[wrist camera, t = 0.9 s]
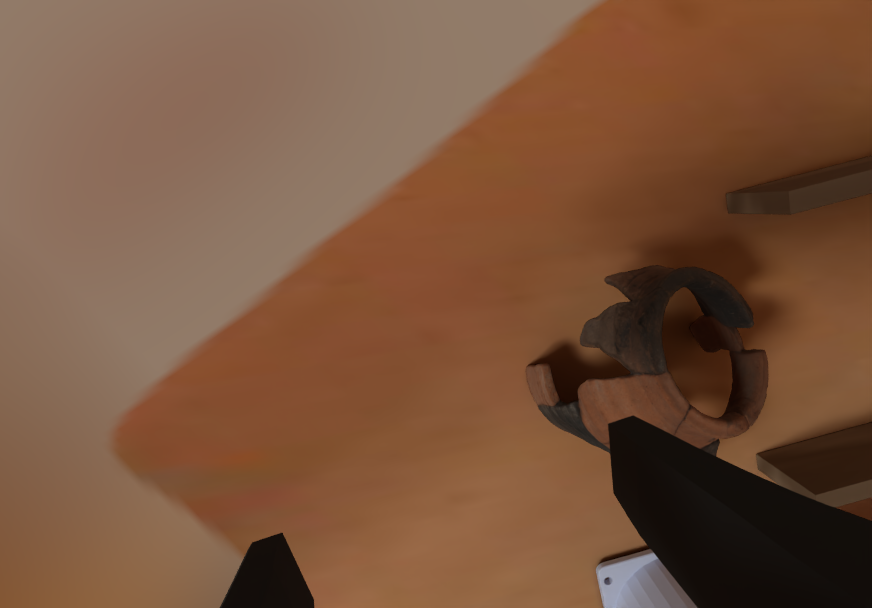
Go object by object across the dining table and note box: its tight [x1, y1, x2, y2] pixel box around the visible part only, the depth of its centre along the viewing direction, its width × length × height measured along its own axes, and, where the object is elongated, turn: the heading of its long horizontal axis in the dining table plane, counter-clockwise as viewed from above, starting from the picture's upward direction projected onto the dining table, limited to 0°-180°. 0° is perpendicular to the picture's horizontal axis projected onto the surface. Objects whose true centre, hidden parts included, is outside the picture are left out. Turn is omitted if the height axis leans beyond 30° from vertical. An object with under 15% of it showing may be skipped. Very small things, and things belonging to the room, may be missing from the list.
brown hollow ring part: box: [526, 265, 768, 456], centre depth 24 cm, size 12×10×8 cm
